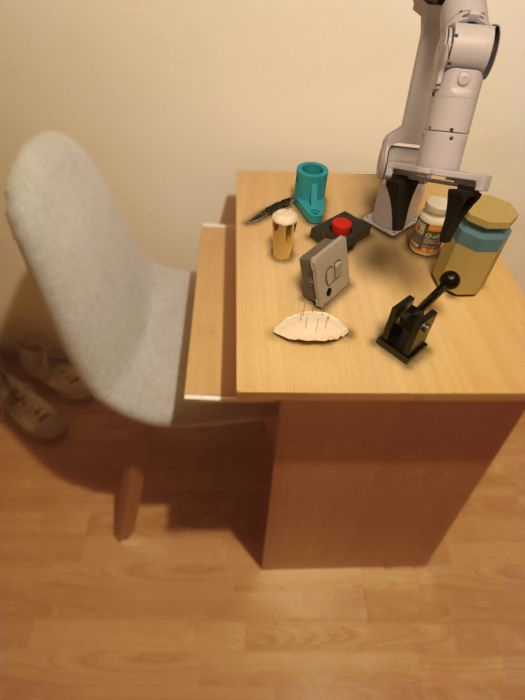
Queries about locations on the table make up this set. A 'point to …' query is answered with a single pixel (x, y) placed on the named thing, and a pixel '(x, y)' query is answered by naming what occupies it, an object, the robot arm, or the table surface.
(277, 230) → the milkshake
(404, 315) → the lever
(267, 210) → the folding knife
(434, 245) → the pill bottle
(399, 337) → the bracket
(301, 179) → the bracket
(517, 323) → the table surface
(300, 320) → the pincushion
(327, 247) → the electrical switch
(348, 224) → the button
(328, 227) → the control block
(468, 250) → the jar
